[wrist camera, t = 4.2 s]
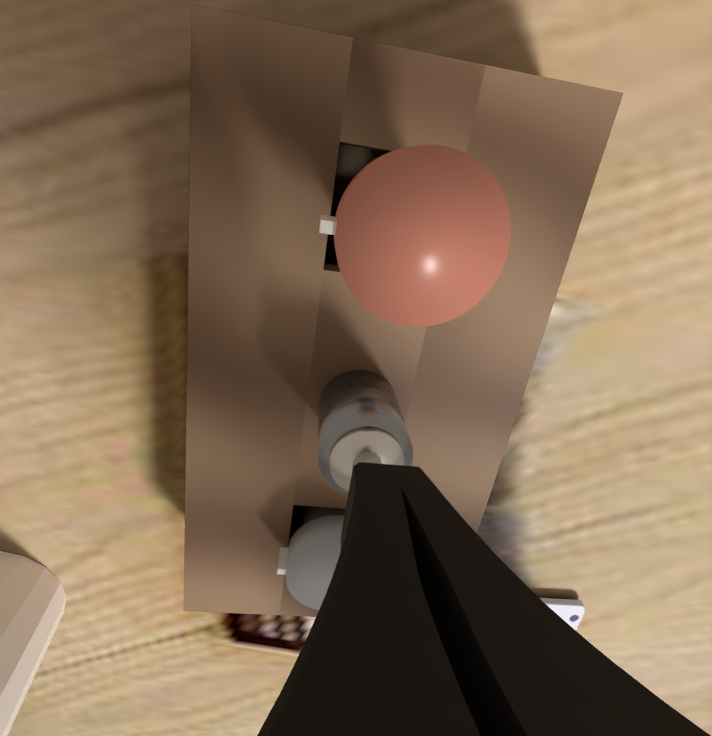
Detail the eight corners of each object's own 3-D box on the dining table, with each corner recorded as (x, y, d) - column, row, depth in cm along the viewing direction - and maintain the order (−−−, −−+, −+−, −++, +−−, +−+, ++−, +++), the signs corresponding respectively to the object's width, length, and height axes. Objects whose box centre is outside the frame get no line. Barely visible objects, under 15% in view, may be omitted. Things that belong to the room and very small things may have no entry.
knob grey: (362, 516, 22) (373, 613, 17) (283, 510, 21) (272, 608, 17) (374, 455, 20) (390, 543, 16) (290, 448, 20) (281, 536, 15)
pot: (388, 442, 16) (411, 532, 12) (314, 435, 16) (311, 525, 12) (403, 374, 15) (433, 449, 11) (323, 365, 15) (324, 438, 11)
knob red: (430, 280, 14) (484, 336, 10) (313, 264, 14) (309, 313, 9) (456, 163, 13) (534, 161, 8) (328, 140, 13) (332, 125, 8)
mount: (427, 551, 24) (447, 622, 20) (206, 537, 22) (183, 610, 18) (553, 109, 16) (623, 93, 12) (224, 45, 14) (191, 3, 11)
